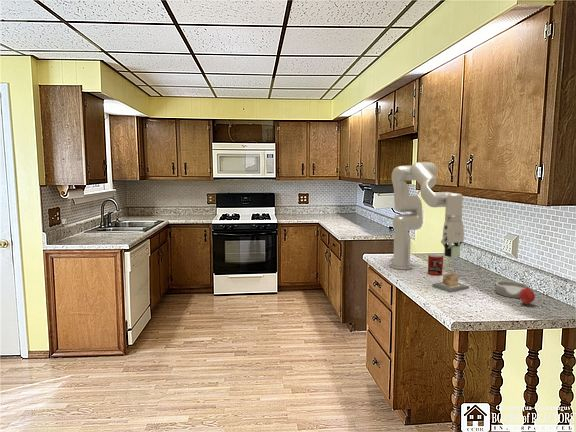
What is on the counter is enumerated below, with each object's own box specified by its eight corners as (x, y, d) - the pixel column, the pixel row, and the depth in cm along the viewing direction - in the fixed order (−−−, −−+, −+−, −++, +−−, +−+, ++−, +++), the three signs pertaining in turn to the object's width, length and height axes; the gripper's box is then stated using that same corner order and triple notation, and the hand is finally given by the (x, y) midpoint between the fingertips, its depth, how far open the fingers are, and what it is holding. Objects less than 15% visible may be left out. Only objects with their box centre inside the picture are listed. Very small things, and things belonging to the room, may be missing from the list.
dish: (534, 300, 178) (535, 289, 177) (501, 298, 180) (501, 287, 180) (521, 290, 192) (521, 280, 191) (490, 288, 194) (491, 278, 194)
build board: (432, 286, 198) (432, 283, 198) (450, 282, 204) (450, 280, 204) (450, 292, 189) (450, 289, 188) (468, 288, 195) (468, 285, 194)
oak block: (442, 284, 197) (443, 274, 197) (449, 282, 200) (450, 273, 199) (450, 286, 193) (451, 276, 192) (457, 285, 195) (458, 275, 195)
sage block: (444, 255, 195) (444, 245, 195) (451, 254, 198) (451, 244, 197) (452, 257, 191) (453, 247, 190) (459, 256, 193) (460, 246, 193)
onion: (516, 301, 175) (517, 284, 174) (529, 302, 174) (531, 284, 173) (522, 306, 169) (523, 288, 168) (536, 306, 169) (538, 288, 168)
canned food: (427, 274, 219) (427, 255, 218) (428, 271, 227) (429, 252, 225) (441, 276, 216) (442, 256, 215) (443, 272, 223) (443, 253, 222)
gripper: (447, 220, 185) (445, 259, 187) (472, 218, 193) (470, 255, 195) (434, 219, 192) (433, 256, 194) (459, 216, 199) (457, 252, 202)
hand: (451, 255), depth 194 cm, fingers closed on sage block, 5 cm apart
